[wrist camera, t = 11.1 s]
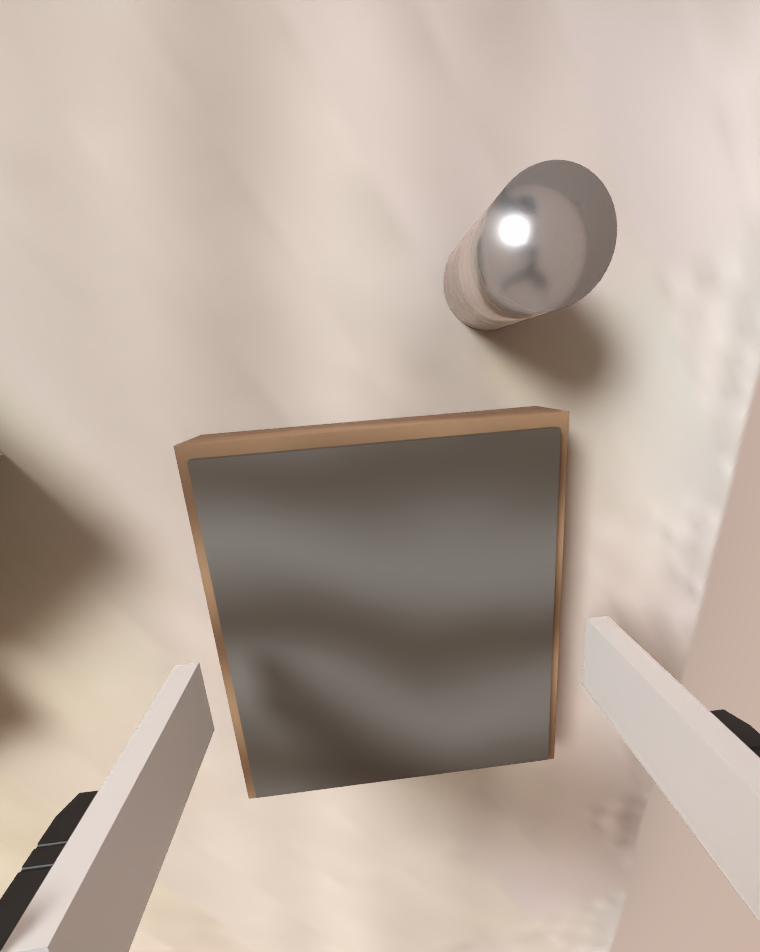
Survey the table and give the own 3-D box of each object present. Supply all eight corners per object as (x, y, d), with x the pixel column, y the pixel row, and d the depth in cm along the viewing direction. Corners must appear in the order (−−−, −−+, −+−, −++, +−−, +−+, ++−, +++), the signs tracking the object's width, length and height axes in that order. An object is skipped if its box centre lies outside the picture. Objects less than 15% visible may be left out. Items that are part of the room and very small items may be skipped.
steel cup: (441, 232, 15) (485, 163, 10) (534, 226, 15) (622, 156, 10) (445, 333, 16) (486, 315, 11) (532, 326, 16) (611, 305, 11)
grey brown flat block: (201, 435, 16) (168, 448, 13) (536, 406, 17) (575, 412, 14) (261, 745, 20) (246, 808, 17) (529, 711, 21) (558, 766, 18)
